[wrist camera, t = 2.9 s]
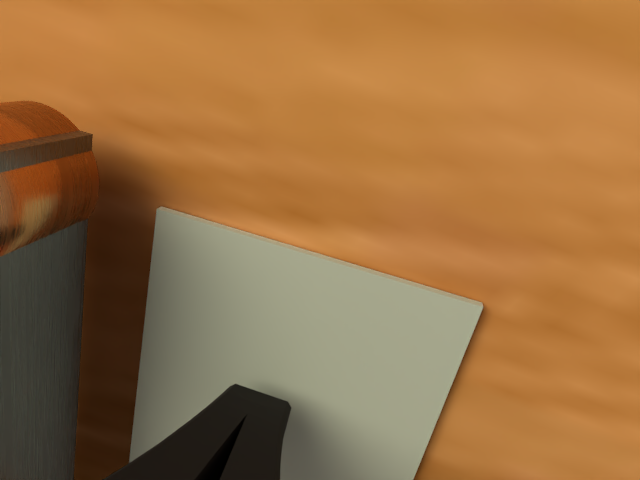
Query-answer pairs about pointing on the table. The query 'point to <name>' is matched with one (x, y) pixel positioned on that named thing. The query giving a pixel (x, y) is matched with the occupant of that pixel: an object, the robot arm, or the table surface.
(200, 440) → the robot arm
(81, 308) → the grey copper-tipped rod
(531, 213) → the table surface
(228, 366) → the plate
